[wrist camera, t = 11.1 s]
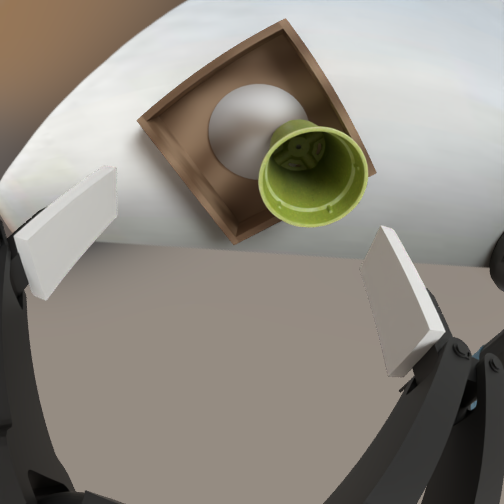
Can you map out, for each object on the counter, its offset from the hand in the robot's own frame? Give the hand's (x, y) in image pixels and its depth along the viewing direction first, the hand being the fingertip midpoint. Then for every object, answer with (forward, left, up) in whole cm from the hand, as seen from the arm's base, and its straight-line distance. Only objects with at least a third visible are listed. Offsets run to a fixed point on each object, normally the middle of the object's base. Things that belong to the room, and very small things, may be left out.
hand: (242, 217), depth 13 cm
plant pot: (-3, -3, -19) cm, 20 cm away
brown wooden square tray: (0, 0, -21) cm, 21 cm away
